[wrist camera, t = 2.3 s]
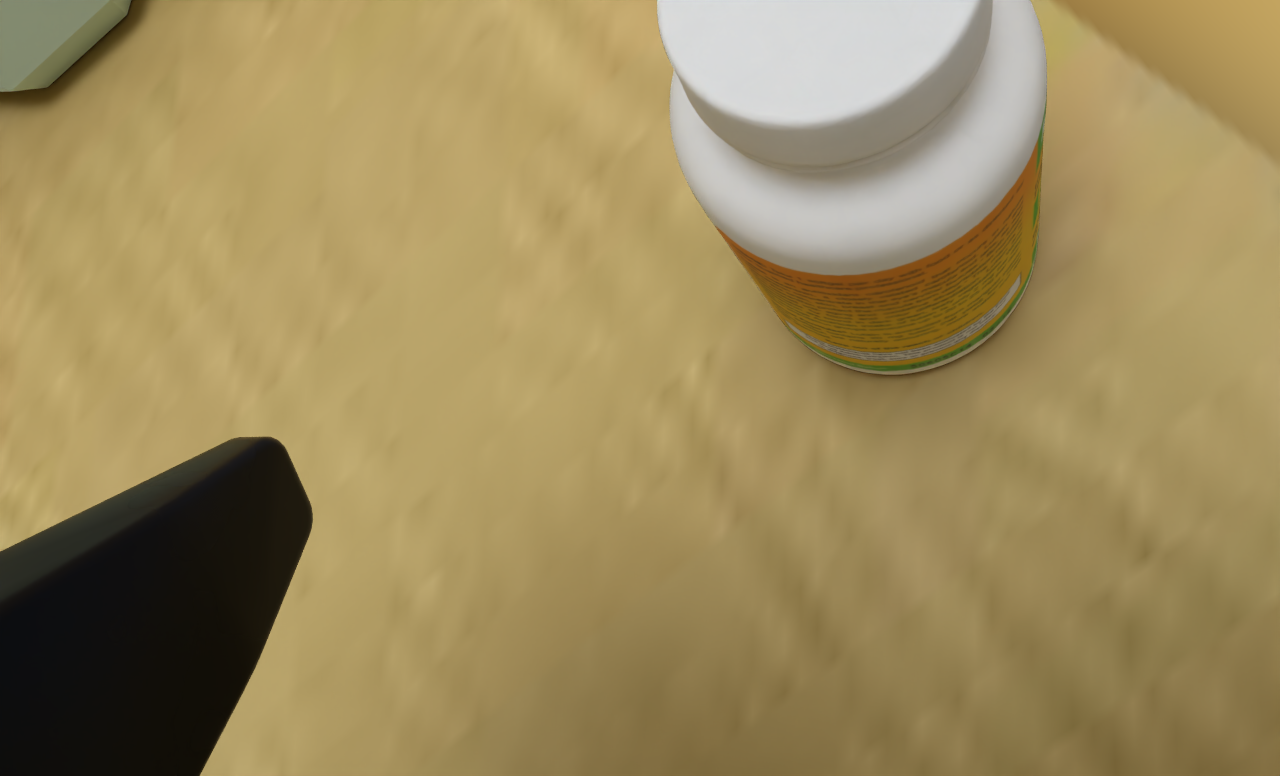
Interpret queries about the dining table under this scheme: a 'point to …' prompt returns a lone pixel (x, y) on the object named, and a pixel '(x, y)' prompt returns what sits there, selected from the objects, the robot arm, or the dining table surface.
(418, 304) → the dining table surface
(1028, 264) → the supplement bottle
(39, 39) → the water bottle
